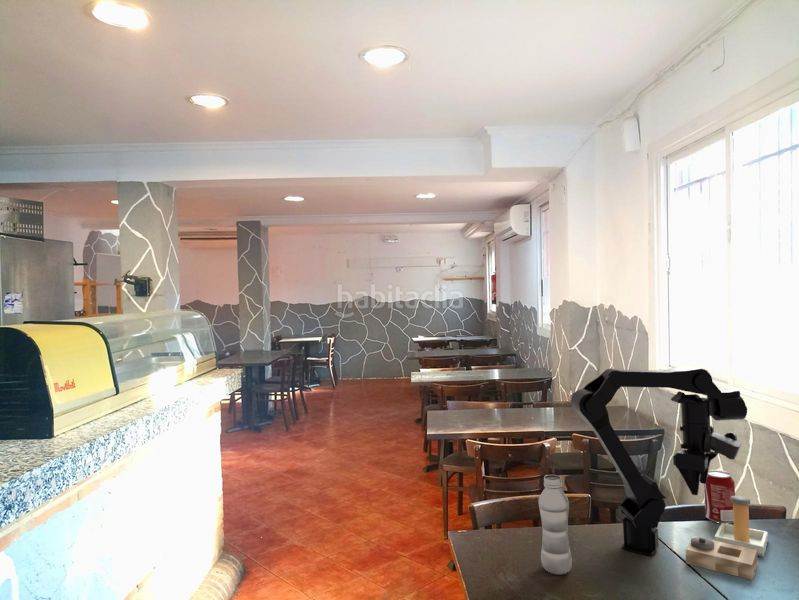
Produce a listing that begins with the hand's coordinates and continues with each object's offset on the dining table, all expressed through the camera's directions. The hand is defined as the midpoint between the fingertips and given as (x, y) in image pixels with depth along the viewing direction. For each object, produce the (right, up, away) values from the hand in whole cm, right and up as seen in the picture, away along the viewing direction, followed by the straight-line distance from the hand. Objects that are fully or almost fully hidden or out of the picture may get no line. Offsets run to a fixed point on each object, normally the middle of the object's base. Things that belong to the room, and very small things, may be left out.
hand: (699, 488), depth 121 cm
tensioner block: (0, -13, -9) cm, 16 cm away
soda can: (+13, -13, +13) cm, 22 cm away
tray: (+10, -13, 0) cm, 16 cm away
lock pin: (+10, -12, 0) cm, 16 cm away
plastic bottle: (-36, -15, -9) cm, 39 cm away
